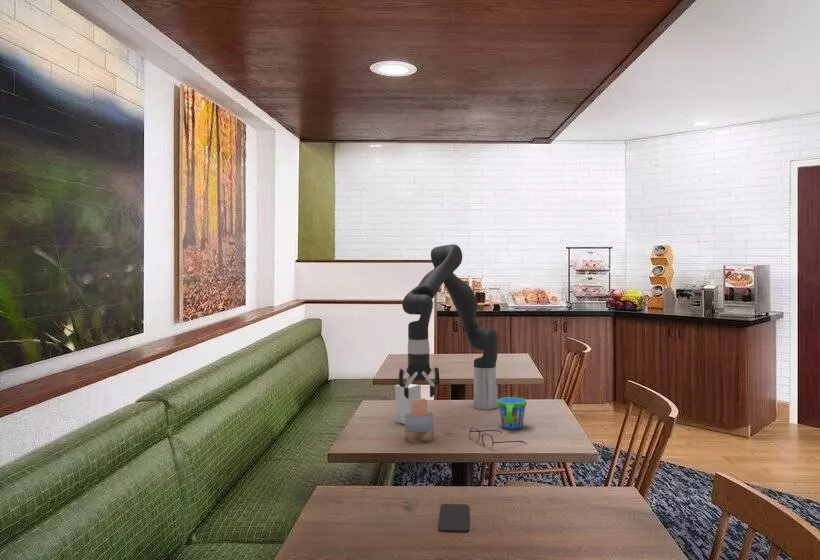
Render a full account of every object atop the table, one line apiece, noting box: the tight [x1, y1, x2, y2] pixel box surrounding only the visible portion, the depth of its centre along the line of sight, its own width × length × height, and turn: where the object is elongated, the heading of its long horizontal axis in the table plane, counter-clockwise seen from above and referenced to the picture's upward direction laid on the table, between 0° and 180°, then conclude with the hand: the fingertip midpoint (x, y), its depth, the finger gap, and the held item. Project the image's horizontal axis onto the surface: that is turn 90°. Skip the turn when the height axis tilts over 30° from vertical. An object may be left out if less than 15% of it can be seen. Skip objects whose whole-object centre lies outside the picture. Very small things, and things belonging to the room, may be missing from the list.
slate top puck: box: [404, 411, 435, 432], centre depth 210 cm, size 10×10×4 cm
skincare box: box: [394, 383, 421, 425], centre depth 231 cm, size 8×6×15 cm
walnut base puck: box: [404, 428, 435, 444], centre depth 210 cm, size 10×10×4 cm
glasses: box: [469, 427, 528, 450], centre depth 207 cm, size 14×15×5 cm
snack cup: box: [498, 396, 527, 430], centre depth 223 cm, size 16×10×10 cm
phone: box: [437, 503, 470, 534], centre depth 148 cm, size 7×1×15 cm
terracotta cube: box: [411, 398, 428, 417], centre depth 211 cm, size 5×5×5 cm
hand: (419, 397), depth 211 cm, fingers open, 8 cm apart
